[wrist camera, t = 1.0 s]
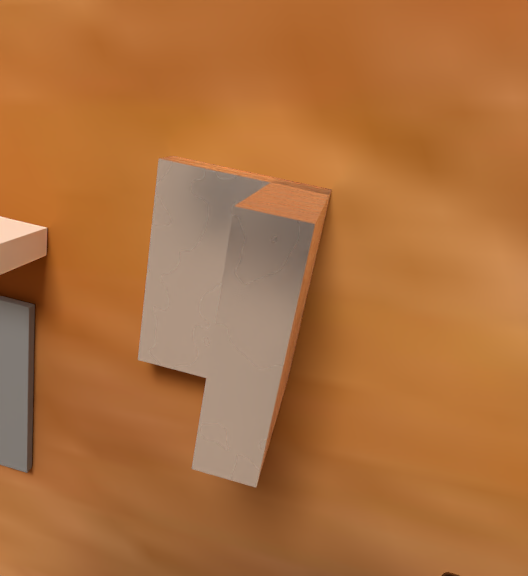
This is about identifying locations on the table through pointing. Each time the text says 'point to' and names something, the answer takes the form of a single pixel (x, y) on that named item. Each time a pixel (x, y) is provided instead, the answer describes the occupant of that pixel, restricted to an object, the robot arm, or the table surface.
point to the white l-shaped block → (20, 243)
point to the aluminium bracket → (230, 298)
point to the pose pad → (16, 383)
